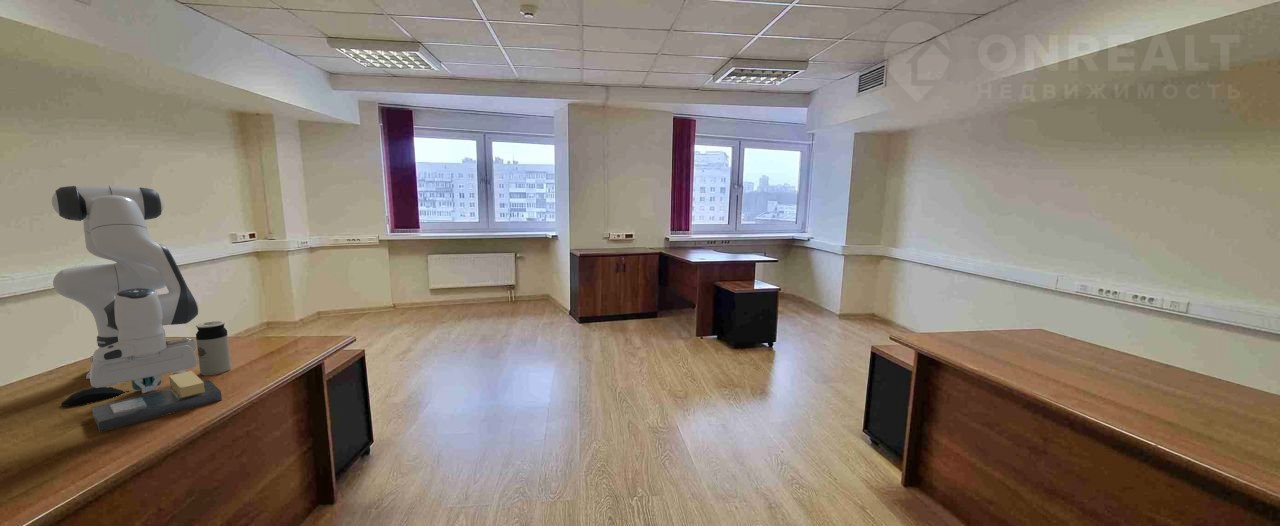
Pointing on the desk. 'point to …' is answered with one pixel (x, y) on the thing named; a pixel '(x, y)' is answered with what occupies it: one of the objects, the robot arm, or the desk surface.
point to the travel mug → (213, 348)
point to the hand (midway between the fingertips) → (149, 391)
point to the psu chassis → (150, 406)
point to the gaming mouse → (92, 396)
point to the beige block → (186, 383)
